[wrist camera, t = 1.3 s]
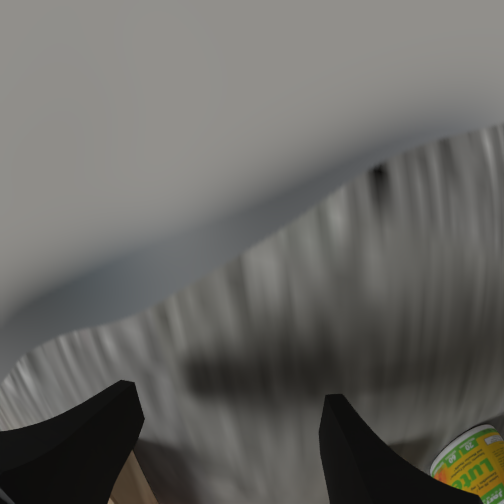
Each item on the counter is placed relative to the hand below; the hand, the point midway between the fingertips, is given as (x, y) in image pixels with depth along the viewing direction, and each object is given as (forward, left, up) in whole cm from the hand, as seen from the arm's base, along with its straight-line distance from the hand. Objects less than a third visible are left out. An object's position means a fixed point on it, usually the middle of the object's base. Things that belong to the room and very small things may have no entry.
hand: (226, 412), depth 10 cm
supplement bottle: (+15, -8, -2) cm, 17 cm away
